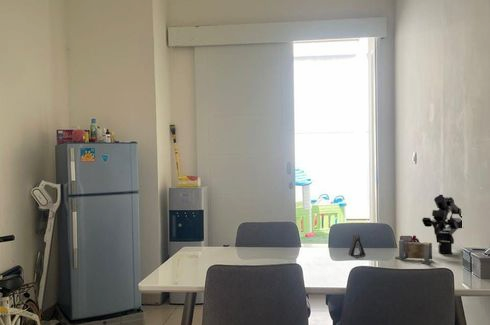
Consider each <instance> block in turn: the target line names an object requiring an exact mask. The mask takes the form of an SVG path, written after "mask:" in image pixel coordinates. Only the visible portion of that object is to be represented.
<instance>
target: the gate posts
mask: <svg viewBox="0 0 490 325" xmlns="http://www.w3.org/2000/svg"><path fill="white" fill-rule="evenodd" d="M422 243H423V244H424V259H423V260H421V263H420V264H422V265H431V264H432V262H431V261H430V259H429V244H430V243H431V242H427V241H425V242H422ZM398 252H399V253H398V254H399V255H396V256H394V259H397V260H405V259H407V258H405V247H404V241H403V240H400V239H399V241H398Z"/></svg>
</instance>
